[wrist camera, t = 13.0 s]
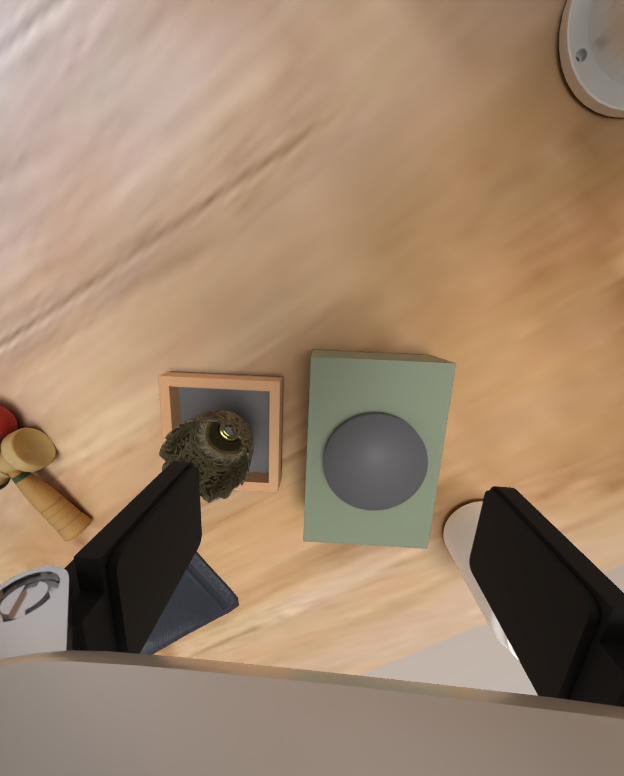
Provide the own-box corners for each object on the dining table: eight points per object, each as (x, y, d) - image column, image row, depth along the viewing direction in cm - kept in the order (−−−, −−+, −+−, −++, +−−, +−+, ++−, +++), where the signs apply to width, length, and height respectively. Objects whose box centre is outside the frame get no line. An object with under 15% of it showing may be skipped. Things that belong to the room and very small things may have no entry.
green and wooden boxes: (169, 342, 31) (126, 349, 24) (430, 354, 30) (461, 365, 23) (179, 496, 35) (145, 539, 28) (409, 509, 34) (431, 556, 28)
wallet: (124, 676, 40) (46, 598, 38) (133, 660, 42) (59, 584, 39) (243, 616, 37) (167, 526, 35) (246, 602, 39) (174, 516, 36)
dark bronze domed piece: (227, 471, 33) (199, 517, 26) (184, 420, 32) (140, 453, 24) (280, 435, 32) (266, 472, 24) (237, 381, 31) (208, 402, 23)
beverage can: (521, 541, 35) (622, 653, 23) (456, 567, 36) (521, 686, 24) (496, 486, 33) (591, 576, 22) (430, 515, 34) (485, 616, 23)
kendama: (123, 498, 37) (5, 379, 31) (81, 543, 31) (-72, 408, 26) (84, 514, 39) (-32, 407, 34) (39, 559, 34) (-111, 439, 28)
